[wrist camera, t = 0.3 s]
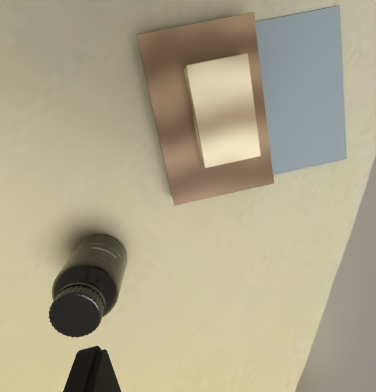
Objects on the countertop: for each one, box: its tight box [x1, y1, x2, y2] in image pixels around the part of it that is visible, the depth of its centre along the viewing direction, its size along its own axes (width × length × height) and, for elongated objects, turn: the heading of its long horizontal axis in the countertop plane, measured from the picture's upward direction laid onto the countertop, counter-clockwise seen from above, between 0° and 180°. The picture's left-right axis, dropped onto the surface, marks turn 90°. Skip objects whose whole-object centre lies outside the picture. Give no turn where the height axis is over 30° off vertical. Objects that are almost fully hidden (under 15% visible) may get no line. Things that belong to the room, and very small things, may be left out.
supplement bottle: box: [49, 235, 127, 337], centre depth 32 cm, size 7×7×12 cm
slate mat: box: [255, 6, 347, 175], centre depth 35 cm, size 18×11×1 cm, turn 11°
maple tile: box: [184, 53, 261, 168], centre depth 30 cm, size 10×6×2 cm, turn 11°
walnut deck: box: [136, 12, 274, 205], centre depth 33 cm, size 18×12×4 cm, turn 11°
